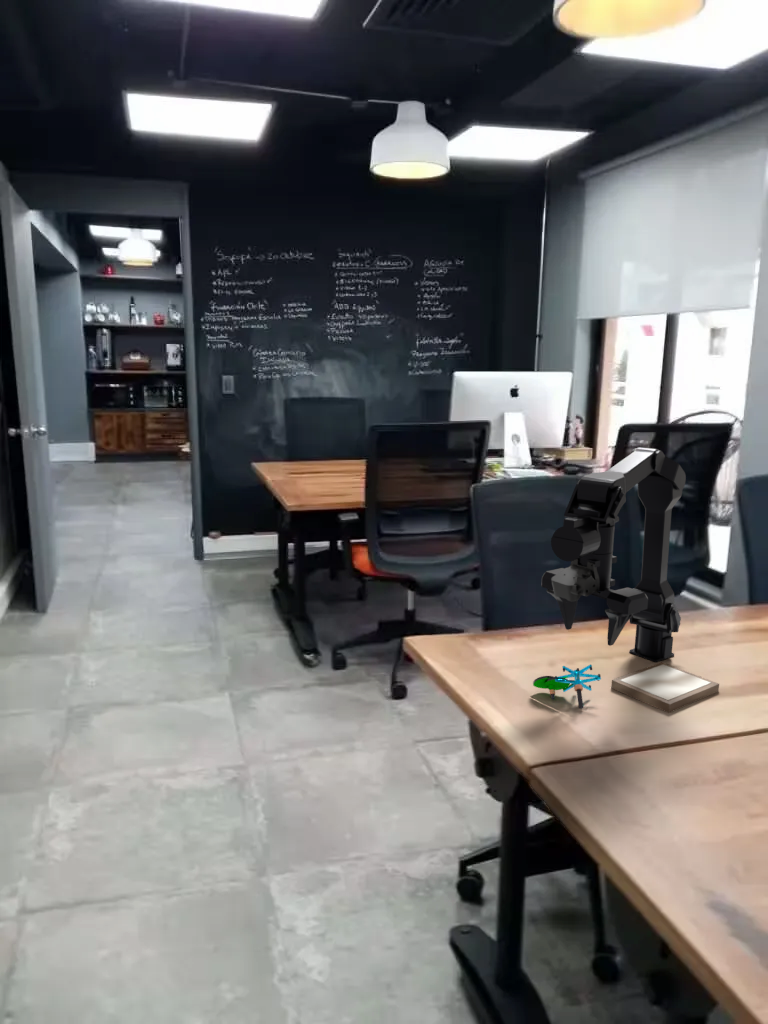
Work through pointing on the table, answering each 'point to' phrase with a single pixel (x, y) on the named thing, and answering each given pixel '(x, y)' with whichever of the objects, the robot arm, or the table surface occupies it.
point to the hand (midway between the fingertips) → (589, 636)
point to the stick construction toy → (567, 682)
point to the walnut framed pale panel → (665, 686)
